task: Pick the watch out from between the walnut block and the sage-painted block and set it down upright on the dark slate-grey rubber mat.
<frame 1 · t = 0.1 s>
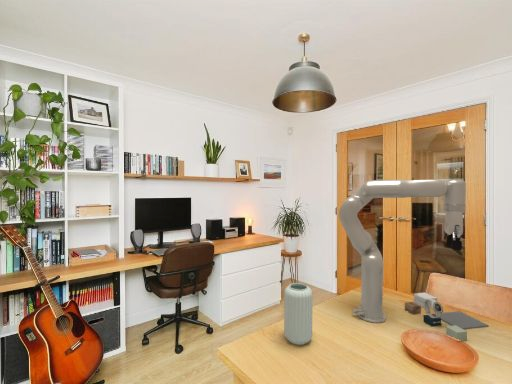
hand: (453, 247, 117), 37 cm above the table, tool pointing down, fingers open, 9 cm apart
slate mat: (459, 320, 128), on the table
walnut block: (412, 311, 137), on the table
vase: (298, 339, 111), on the table
sage block: (456, 338, 113), on the table
watch: (432, 323, 125), on the table
small box: (425, 305, 145), on the table
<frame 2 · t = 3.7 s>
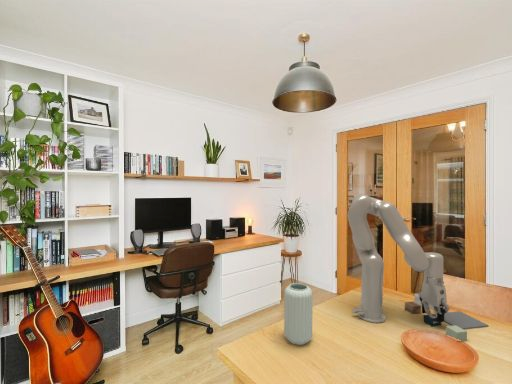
hand: (432, 317, 125), 3 cm above the table, tool pointing down, fingers closed on watch, 8 cm apart
watch: (432, 323, 125), on the table, touching gripper
everything else where it was.
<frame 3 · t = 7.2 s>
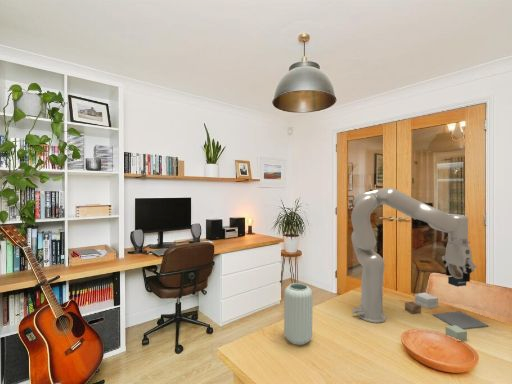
hand: (457, 278, 127), 20 cm above the table, tool pointing down, fingers closed on watch, 8 cm apart
watch: (457, 284, 127), point 17 cm above the table, touching gripper
everything else where it was.
when the fingers open (5 cm above the table, at t = 10.9 s): watch drops 1 cm, resting on slate mat.
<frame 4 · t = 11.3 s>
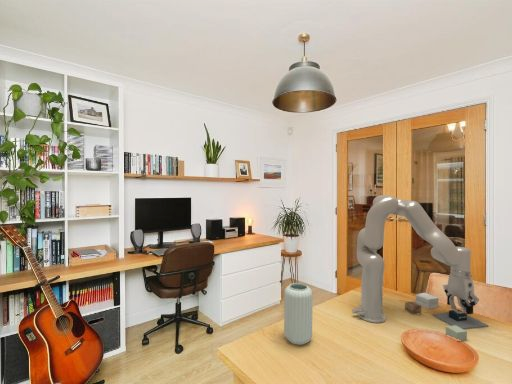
hand: (459, 309, 128), 6 cm above the table, tool pointing down, fingers open, 9 cm apart
watch: (457, 318, 128), resting on slate mat, touching gripper
everything else where it was.
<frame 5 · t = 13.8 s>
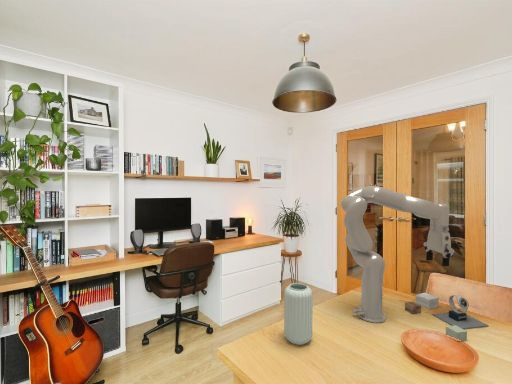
hand: (437, 263, 133), 26 cm above the table, tool pointing down, fingers open, 9 cm apart
watch: (457, 319, 128), resting on slate mat
everything else where it was.
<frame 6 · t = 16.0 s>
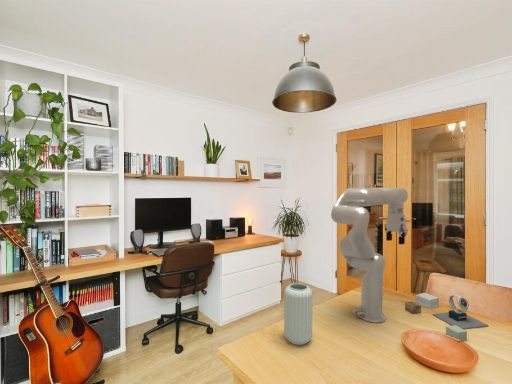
hand: (395, 242, 146), 33 cm above the table, tool pointing down, fingers open, 9 cm apart
nothing on the table moved.
at the end: watch inside the target area on the slate mat (0.7 cm from its centre), point 0.4 cm above the slate mat's base; watch tilted 0°; the gripper is holding nothing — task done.
